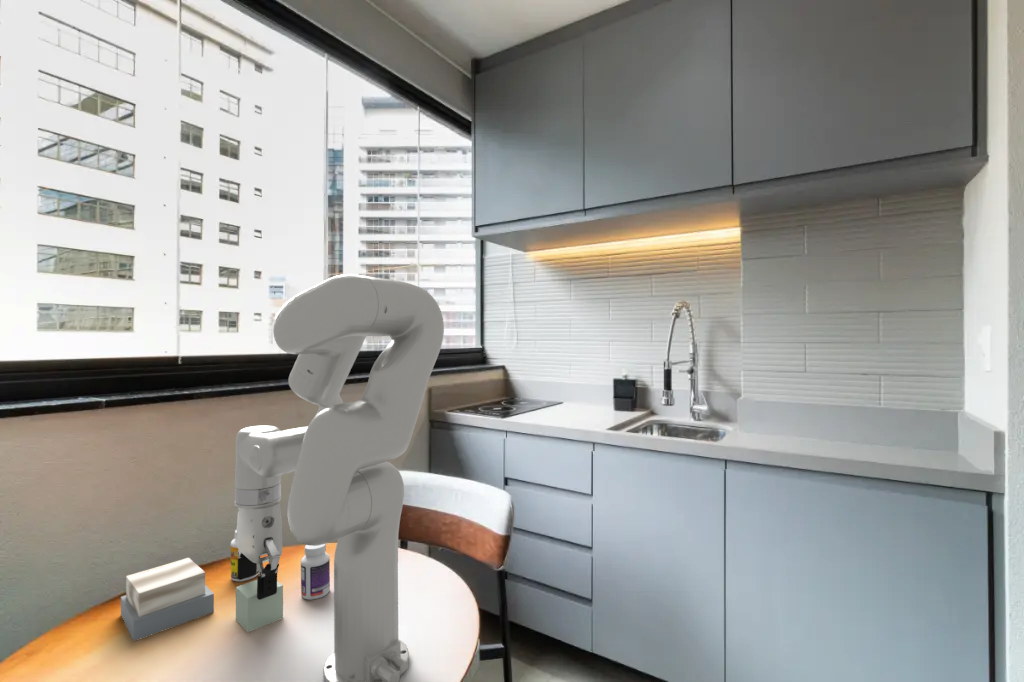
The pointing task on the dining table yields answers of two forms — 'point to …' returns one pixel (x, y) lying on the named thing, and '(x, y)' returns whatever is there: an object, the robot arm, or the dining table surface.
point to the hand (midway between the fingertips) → (256, 586)
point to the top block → (164, 586)
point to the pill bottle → (315, 572)
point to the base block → (165, 615)
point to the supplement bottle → (235, 561)
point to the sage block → (257, 606)
